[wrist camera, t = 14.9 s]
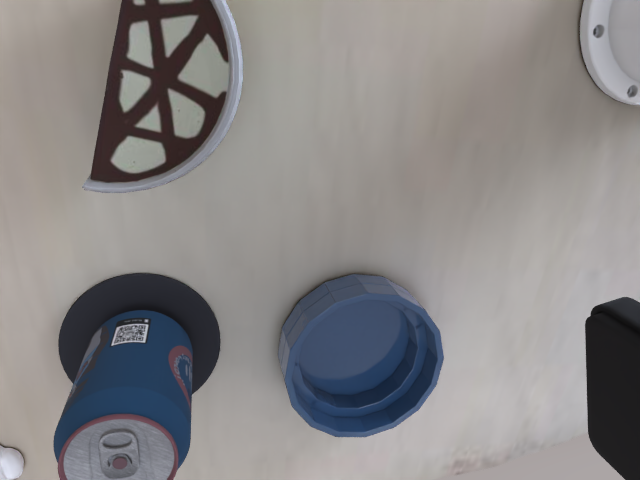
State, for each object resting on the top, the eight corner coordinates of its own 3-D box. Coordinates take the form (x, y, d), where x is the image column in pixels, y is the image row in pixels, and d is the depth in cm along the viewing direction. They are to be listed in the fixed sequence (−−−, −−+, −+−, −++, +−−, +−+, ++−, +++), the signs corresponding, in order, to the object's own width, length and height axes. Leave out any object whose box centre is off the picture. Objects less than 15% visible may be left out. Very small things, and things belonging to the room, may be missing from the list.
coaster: (195, 254, 37) (195, 256, 36) (236, 382, 40) (237, 385, 40) (34, 298, 35) (32, 301, 35) (92, 427, 39) (91, 430, 39)
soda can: (195, 382, 39) (193, 509, 28) (96, 393, 38) (54, 530, 27) (190, 298, 37) (186, 399, 26) (85, 306, 36) (33, 416, 24)
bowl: (410, 254, 40) (431, 274, 36) (430, 380, 44) (451, 408, 41) (261, 297, 39) (268, 322, 35) (296, 423, 43) (306, 457, 39)
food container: (208, 183, 35) (212, 227, 26) (112, 160, 33) (80, 198, 24) (254, -8, 32) (277, -36, 23) (151, -44, 30) (130, -91, 21)
